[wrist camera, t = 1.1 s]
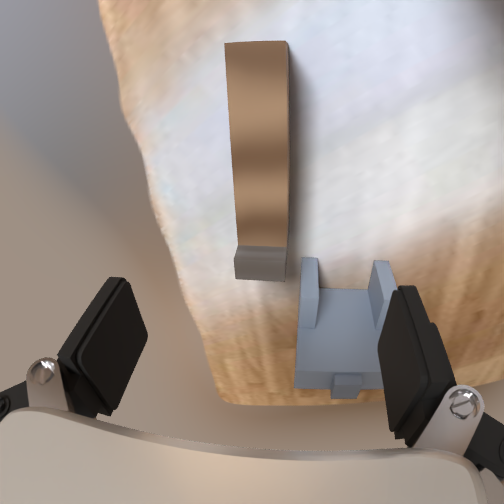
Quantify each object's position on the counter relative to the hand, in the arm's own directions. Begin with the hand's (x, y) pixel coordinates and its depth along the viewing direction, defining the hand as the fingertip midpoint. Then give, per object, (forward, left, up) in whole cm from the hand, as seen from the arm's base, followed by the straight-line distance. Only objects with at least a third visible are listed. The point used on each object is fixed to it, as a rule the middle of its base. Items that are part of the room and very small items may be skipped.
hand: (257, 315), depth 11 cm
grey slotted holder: (+14, +6, -19) cm, 25 cm away
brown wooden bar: (-1, -2, -19) cm, 20 cm away
